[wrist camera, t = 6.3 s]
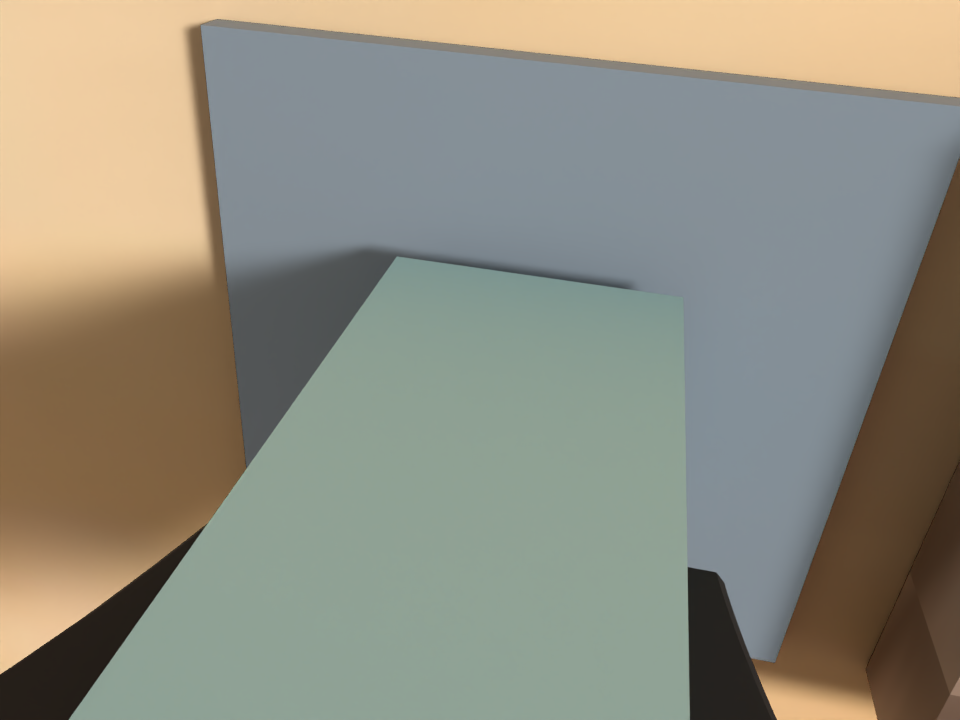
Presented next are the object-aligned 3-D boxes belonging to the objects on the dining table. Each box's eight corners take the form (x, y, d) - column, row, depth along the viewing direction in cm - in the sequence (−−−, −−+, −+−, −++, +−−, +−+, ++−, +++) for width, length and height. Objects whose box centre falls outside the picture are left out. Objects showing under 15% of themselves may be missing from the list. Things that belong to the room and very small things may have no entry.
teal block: (636, 521, 13) (583, 1379, 6) (394, 478, 14) (59, 1208, 6) (684, 296, 11) (696, 1173, 4) (396, 256, 12) (-94, 948, 4)
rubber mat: (772, 641, 16) (775, 662, 15) (265, 542, 17) (255, 560, 17) (964, 98, 11) (976, 108, 10) (217, 18, 12) (200, 25, 12)
